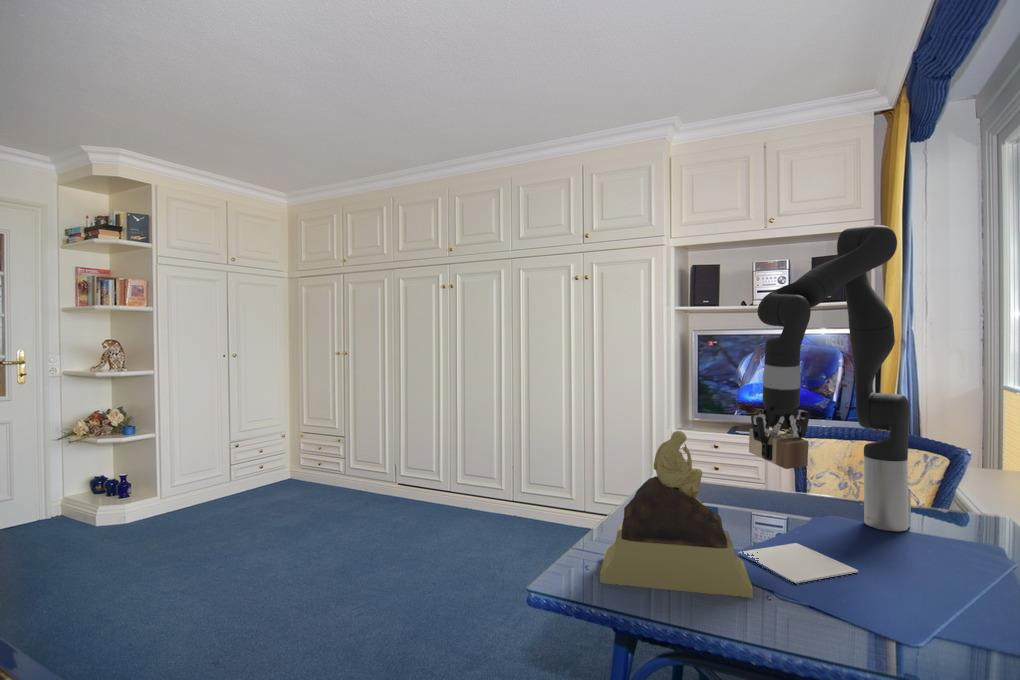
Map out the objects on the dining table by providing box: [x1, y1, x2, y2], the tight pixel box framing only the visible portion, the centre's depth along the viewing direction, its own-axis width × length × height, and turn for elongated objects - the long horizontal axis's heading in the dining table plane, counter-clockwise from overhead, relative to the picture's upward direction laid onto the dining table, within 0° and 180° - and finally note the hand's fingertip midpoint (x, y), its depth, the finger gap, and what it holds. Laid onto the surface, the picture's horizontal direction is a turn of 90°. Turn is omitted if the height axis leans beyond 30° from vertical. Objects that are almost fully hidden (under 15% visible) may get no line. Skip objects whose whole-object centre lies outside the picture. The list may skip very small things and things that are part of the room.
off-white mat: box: [738, 542, 859, 583], centre depth 120 cm, size 16×16×1 cm
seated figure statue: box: [599, 430, 754, 599], centre depth 115 cm, size 28×13×30 cm, turn 75°
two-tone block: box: [748, 428, 809, 470], centre depth 128 cm, size 6×6×12 cm
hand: (779, 457), depth 128 cm, fingers closed on two-tone block, 5 cm apart
